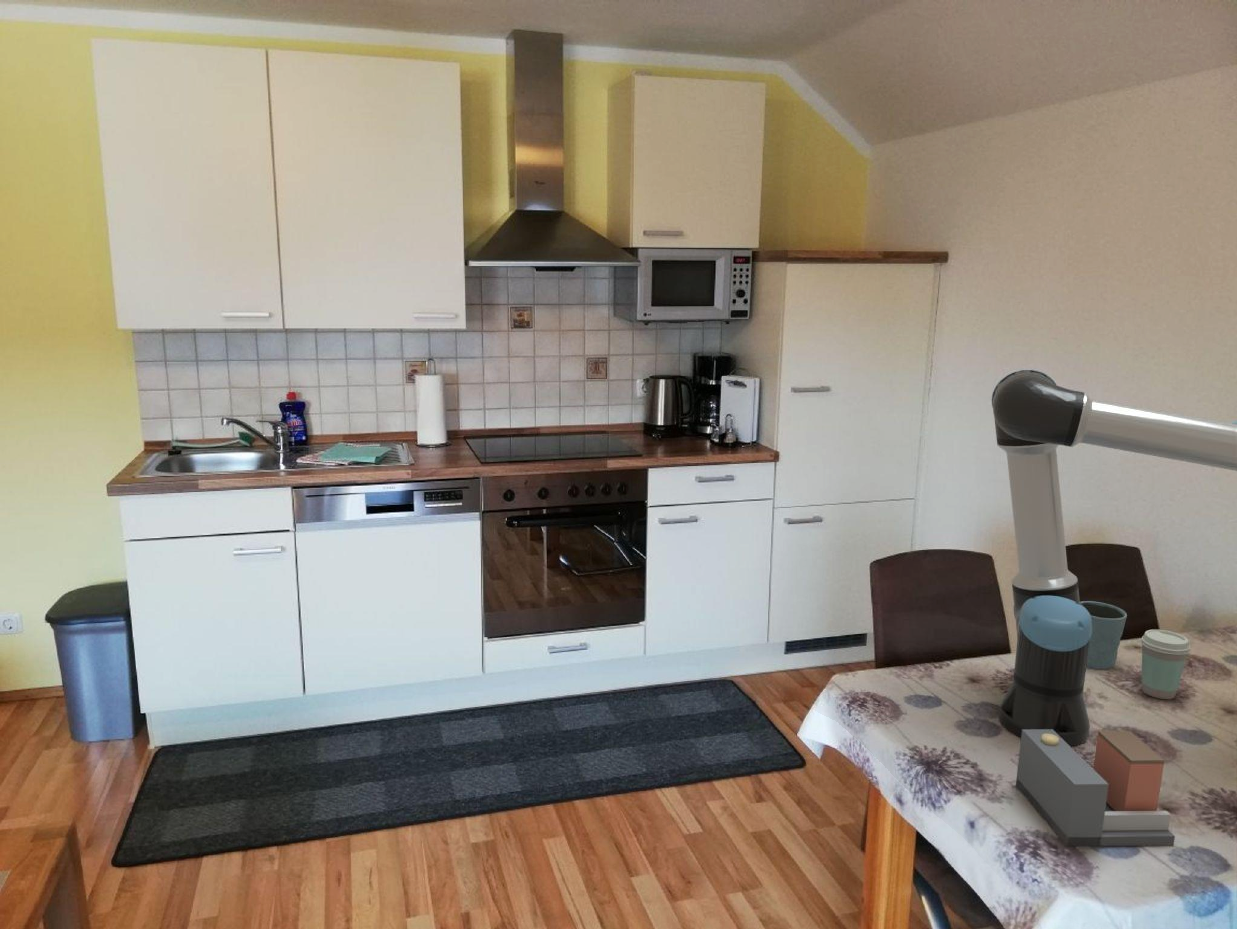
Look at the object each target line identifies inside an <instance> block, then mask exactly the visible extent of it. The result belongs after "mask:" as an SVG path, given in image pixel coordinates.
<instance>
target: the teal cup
mask: <svg viewBox="0 0 1237 929" xmlns="http://www.w3.org/2000/svg"><path fill="white" fill-rule="evenodd" d="M1080 605H1082V606H1083V607H1084V608H1086V609H1087V611H1088V612H1089V613H1090V616H1091V619H1092V635H1091V638H1090V641H1089V649H1088V657H1087V665H1086V668H1087V669H1088V668H1089V669H1095V670H1100V671H1101V670H1111V669H1113V668H1115V665H1116V662H1117V661H1116V660H1117V658H1118V652H1119V651H1118V649H1119V646H1120V644H1121V638H1122V636H1123V632H1124V628H1125V626H1126V625H1125V624H1126V621H1127V618H1128V617H1127V616H1128V615H1127V613H1126V611H1125V610H1124V609H1121V608H1120V607H1118V606H1116V605H1113V604H1109V603H1105V602H1099V601H1093V600H1091V601H1090V600H1087V601H1086V600H1085V601H1080Z"/></svg>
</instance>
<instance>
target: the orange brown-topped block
mask: <svg viewBox="0 0 1237 929" xmlns="http://www.w3.org/2000/svg"><path fill="white" fill-rule="evenodd" d="M1093 760H1094V762H1093V767H1092V768H1093V769H1094V770H1095V771H1096V772H1097V773H1098V774H1099V775H1100V776H1101V777H1102V778H1103V779H1104V780H1105V781H1106V782H1107V783H1108V784H1109V786H1108V793H1107V800H1106V802H1107V803H1108V804H1109V805H1110V806H1111V807H1112V808H1113V809H1114V810H1115V811H1158V805H1159V799H1160V798H1159V797H1160V791H1161V784H1162V780H1163V779H1162V778H1163V773H1164V768H1165V767H1164V766H1165V759H1164V758H1163V757H1161V756H1160V755H1159V754H1158V753H1156V752H1155V751H1154V750H1153V749H1152V748H1151V747H1149V745H1147V744H1146V743H1145V742H1144V741H1143V740H1141V739H1140V738H1139V737H1138V736H1136V735H1135V734H1134V733H1133V732H1131V731H1130V730H1098V731H1097V738H1096V746H1095V753H1094V759H1093Z"/></svg>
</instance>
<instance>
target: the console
mask: <svg viewBox="0 0 1237 929" xmlns="http://www.w3.org/2000/svg"><path fill="white" fill-rule="evenodd" d="M1019 746H1020V747H1019V753H1018V762H1017V770H1016V771H1017V772H1016V779H1015V787H1016V788H1017V789H1018V790H1019V791H1020V793H1021V794H1022V795H1023V797H1025V799H1026V800H1027V801H1028V802H1029V803H1030V805H1031V806H1032V807H1033V808H1034V809H1035V811H1036V813H1037V814H1039V815H1040V817H1041V818H1042V819H1043V820H1044V821H1045V822H1046V824H1047V825H1048V826H1049V827H1050V829H1051V830H1052V831H1053V832H1054V833H1055V835H1057V837H1058V838H1059V840H1061V842H1062V843H1063V845H1065V846H1066V847H1119V846H1120V847H1123V846H1124V847H1125V846H1126V847H1129V846H1130V847H1133V846H1138V847H1140V846H1174V845H1175V838H1176V836H1175V835H1174V833H1173V832H1172V831H1170V830H1169V829H1170V825H1171V824H1170V823H1171V816H1172V815H1171V813H1170V812H1169V811H1167V810H1157V811H1115V810H1114V809H1113V808H1112V807H1111V806H1110V805H1109V804H1108V803H1107V802H1106V800H1107V793H1108V786H1109V784H1108V783H1107V782H1106V781H1105V780H1104V779H1103V778H1102V777H1101V776H1100V775H1099V774H1098V773H1097V772H1096V771H1095V770H1094V769H1093V768H1094V767H1092V766H1091V765H1089V763H1087V761H1086V760H1085V759H1084V758H1082V756H1081V755H1079V753H1078V752H1076V750H1075V749H1073V747H1072V746H1069V745H1068V744H1067V743H1066V742H1065V741H1064V740H1063V739H1062V738H1061V737H1060V736H1059V735H1058V734H1057V733H1056V732H1055V731H1054V730H1053V729H1022V735H1021V737H1020V745H1019Z"/></svg>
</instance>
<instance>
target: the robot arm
mask: <svg viewBox="0 0 1237 929" xmlns="http://www.w3.org/2000/svg"><path fill="white" fill-rule="evenodd" d="M991 407H992V412H993V417H994V418H993V419H994V427H995V428H994V429H995V436H996V437H995V438H996V444H997V447H999V449H1001V450H1002V451H1004V452H1005V453H1006V459H1007V470H1008V478H1009V488H1010V495H1011V497H1010V498H1011V505H1012V507H1011V508H1012V516H1013V517H1012V518H1013V526H1014V535H1015V544H1016V546H1015V547H1016V553H1017V554H1016V555H1017V564H1018V573H1016V574H1015V576H1014V577H1013V578H1012V579H1011V587H1012V588H1011V589H1012V598H1013V616H1014V619H1015V626H1016V636H1017V638H1016V639H1017V642H1016V651H1015V652H1016V653H1015V658H1014V659H1015V660H1014V670H1013V678H1012V682H1011V683H1010V686H1009V687H1008V690H1007V691H1006V694H1005V695H1004V697H1003V699H1002V701H1001V703H1000V705H999V709H998V710H999V711H998V712H999V713H998V721H999V722H1000V724H1001V726H1002V727H1003V728H1004V729H1005V730H1007V731H1008V732H1010V733H1011V734H1013V735H1014V736H1017V737H1019V738H1021V735H1022V729H1053V730H1054V731H1055V732H1056V733H1057V734H1058V735H1059V736H1060V737H1061V738H1062V739H1063V740H1064V741H1065V742H1066V743H1067V744H1068V745H1069V746H1070V747H1072V746H1073V747H1074V746H1078V745H1080V744H1083V743H1085V742H1086V741H1087V740H1089V736H1090V724H1091V723H1090V719H1089V714H1088V710H1087V707H1086V703H1085V702H1086V701H1085V697H1084V689H1085V688H1084V687H1085V682H1086V681H1085V680H1086V671H1087V667H1086V665H1087V657H1088V649H1089V641H1090V638H1091V635H1092V619H1091V616H1090V613H1089V612H1088V611H1087V609H1086V608H1084V607H1083V606H1082V605H1080V602H1081V601H1080V600H1081V599H1080V592H1079V591H1080V590H1079V580H1078V577H1077V576H1076V574H1074V573H1072V572H1071V571H1070V570H1069V569H1068V561H1067V560H1068V559H1067V558H1068V557H1067V549H1066V539H1065V529H1064V517H1063V506H1062V498H1061V488H1060V487H1061V486H1060V477H1059V476H1060V475H1059V474H1060V473H1059V465H1058V456H1057V448H1058V447H1059V446H1065V447H1070V448H1074V447H1075V446H1077V445H1078V444H1086V445H1092V446H1097V447H1104V448H1108V449H1114V450H1118V451H1119V450H1120V451H1124V452H1125V451H1126V452H1130V453H1136V454H1143V455H1148V456H1153V457H1158V458H1164V459H1168V460H1169V459H1170V460H1174V461H1179V462H1180V461H1181V462H1186V463H1191V464H1197V465H1203V466H1207V467H1208V466H1209V467H1212V468H1219V469H1225V470H1230V471H1236V472H1237V420H1236V421H1233V423H1230V422H1223V421H1219V420H1218V421H1217V420H1212V419H1205V418H1200V417H1195V416H1189V415H1183V414H1177V413H1171V412H1166V411H1165V412H1164V411H1159V410H1154V409H1150V408H1149V409H1148V408H1142V407H1136V406H1130V405H1124V404H1119V403H1113V402H1108V401H1100V400H1096V399H1092V398H1090V396H1089V395H1088V393H1086V392H1083V391H1078V390H1073V389H1069V388H1066V387H1062V386H1059V385H1057V383H1056V382H1055V380H1054V379H1052V377H1051V376H1049V375H1048V374H1046V373H1044V372H1042V371H1038V370H1034V369H1021V370H1016V371H1014V372H1011V373H1009V374H1007V375H1005V376H1004V377H1002V378H1001V379H1000V380H999V381H998V383H997V384H996V385H995V387H994V389H993V392H992V395H991Z"/></svg>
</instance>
